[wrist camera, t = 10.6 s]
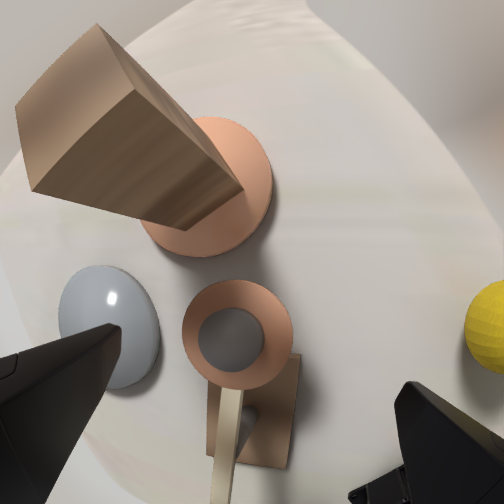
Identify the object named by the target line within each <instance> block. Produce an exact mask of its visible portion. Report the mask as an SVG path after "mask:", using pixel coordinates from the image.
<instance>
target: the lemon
mask: <svg viewBox="0 0 504 504" xmlns="http://www.w3.org/2000/svg"><path fill="white" fill-rule="evenodd" d="M464 331H465V339H466V343H467V346H468V348H469V350H470V352H471V354H472V356H473V357H474V358H475V359H476V360H477V361H478V362H479V363H480V364H481V365H482V366H483V367H485V368H487V369H489V370H491V371H493V372H495V373H499V374H504V280H502V281H498V282H495V283H492V284H490V285H489V286H487V287H485V288H484V289H482V290H481V291H480V292H479V294H478V295H477V296H476V297H475V298H474V300H473V301H472V303H471V304H470V306H469V309H468V312H467V314H466V319H465V324H464Z"/></svg>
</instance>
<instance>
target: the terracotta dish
mask: <svg viewBox="0 0 504 504" xmlns="http://www.w3.org/2000/svg"><path fill="white" fill-rule="evenodd" d="M193 120H194V121H195V123H196V124H197V125H198V126H199V127H200V128H201V129H202V130H203V131H204V132H205V133H206V134H207V135H208V136H209V138H210V139H211V141H212V142H213V144H214V145H215V147H216V148H217V149H218V151H219V152H220V154H221V155H222V157H223V158H224V160H225V161H226V163H227V164H228V166H229V167H230V169H231V170H232V172H233V173H234V175H235V176H236V178H237V179H238V181H239V182H240V184H241V185H242V187H243V188H244V190H243V191H242V192H240V193H239V194H238V195H236V196H235V197H233V198H232V199H230V200H229V201H228V202H226V203H225V204H223V205H222V206H220V207H219V208H218V209H216V210H215V211H213V212H212V213H211V214H209V215H208V216H206V217H205V218H204V219H202V220H201V221H199V222H198V223H197V224H195V225H194V226H193V227H191V228H190V229H188V230H187V231H182V230H179V229H175V228H171V227H167V226H163V225H159V224H156V223H152V222H148V221H144V220H140V221H141V223H142V225H143V227H144V228H145V230H146V232H147V233H148V234H149V235H150V237H151V238H152V239H153V240H154V241H155V242H156V243H158V244H159V245H160V246H162V247H163V248H165V249H166V250H168V251H171V252H173V253H176V254H179V255H183V256H192V257H210V256H216V255H219V254H222V253H225V252H227V251H230V250H232V249H234V248H235V247H237V246H239V245H240V244H242V243H243V242H244V241H245V240H246V239H248V238H249V237H250V236H251V235H252V234H253V233H254V231H255V230H256V229H257V228H258V226H259V225H260V223H261V222H262V220H263V218H264V216H265V215H266V212H267V210H268V207H269V205H270V201H271V197H272V189H273V176H272V171H271V166H270V163H269V160H268V158H267V156H266V154H265V151H264V150H263V148H262V146H261V144H260V143H259V142H258V140H257V139H256V137H255V136H254V135H253V134H252V133H251V132H250V131H248V130H247V129H246V128H245V127H243V126H242V125H240V124H238V123H236V122H234V121H231V120H229V119H225V118H220V117H200V118H195V119H193Z"/></svg>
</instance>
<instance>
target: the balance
mask: <svg viewBox="0 0 504 504" xmlns="http://www.w3.org/2000/svg"><path fill="white" fill-rule="evenodd" d="M182 339H183V344H184V348H185V351H186V354H187V356H188V358H189V360H190V361H191V363H192V365H193V366H194V367H195V369H196V370H197V371H198V372H199V373H200V374H201V375H202V376H204V377H205V378H206V379H207V380H208V399H207V443H206V455H208V456H212V457H214V466H213V476H212V486H211V496H210V504H230V500H231V492H232V484H233V476H234V468H235V461H236V462H241V463H247V464H252V465H259V466H265V467H272V468H279V469H285V468H286V464H287V459H288V452H289V445H290V438H291V431H292V424H293V416H294V409H295V401H296V393H297V384H298V376H299V366H300V357H301V354H292V353H290V352H291V349H292V343H293V329H292V323H291V320H290V317H289V314H288V312H287V310H286V309H285V307H284V305H283V304H282V303H281V301H280V300H279V299H278V298H277V297H276V296H275V295H274V294H273V293H272V292H271V291H269V290H268V289H266V288H265V287H263V286H261V285H259V284H256V283H253V282H250V281H245V280H229V281H222V282H218V283H215V284H213V285H210V286H209V287H207V288H205V289H204V290H202V291H201V292H200V293H199V294H198V295H197V296H196V297H195V298H194V299H193V300H192V302H191V303H190V305H189V306H188V308H187V310H186V313H185V316H184V319H183V325H182Z"/></svg>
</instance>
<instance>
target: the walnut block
mask: <svg viewBox="0 0 504 504" xmlns="http://www.w3.org/2000/svg"><path fill="white" fill-rule="evenodd" d="M15 111H16V118H17V124H18V131H19V136H20V142H21V147H22V152H23V157H24V162H25V167H26V171H27V175H28V179H29V184H30V188H31V191H32V192H36V193H40V194H44V195H48V196H52V197H55V198H59V199H63V200H67V201H71V202H75V203H79V204H83V205H86V206H90V207H94V208H98V209H102V210H106V211H110V212H113V213H117V214H121V215H125V216H129V217H133V218H136V219H140V220H144V221H148V222H152V223H156V224H159V225H163V226H167V227H171V228H175V229H179V230H182V231H187V230H188V229H190V228H191V227H193V226H194V225H195V224H197V223H198V222H199V221H201V220H202V219H204V218H205V217H206V216H208V215H209V214H211V213H212V212H213V211H215V210H216V209H218V208H219V207H220V206H222V205H223V204H225V203H226V202H228V201H229V200H230V199H232V198H233V197H235V196H236V195H238V194H239V193H240V192H242V191H243V190H244V188H243V187H242V185H241V184H240V182H239V181H238V179H237V178H236V176H235V175H234V173H233V172H232V170H231V169H230V167H229V166H228V164H227V163H226V161H225V160H224V158H223V157H222V155H221V154H220V152H219V151H218V149H217V148H216V147H215V145H214V144H213V142H212V141H211V139H210V138H209V136H208V135H207V134H206V133H205V132H204V131H203V130H202V129H201V128H200V127H199V126H198V125H197V124H196V123H195V121H194V120H193V119H192V118H191V117H190V116H189V115H188V114H187V113H186V112H185V111H184V110H183V109H182V108H181V107H180V106H179V105H178V104H177V102H176V101H175V100H174V99H173V98H172V97H171V96H170V95H169V94H168V93H167V92H166V91H165V90H164V89H163V88H162V87H161V86H160V85H159V84H158V83H157V82H156V81H155V80H154V79H153V78H152V77H151V76H150V75H149V74H148V73H147V72H146V71H145V70H144V69H143V68H142V67H141V66H140V65H139V64H138V63H137V62H136V61H135V60H134V59H133V58H132V57H131V56H130V55H129V54H128V53H127V52H126V51H125V50H124V49H123V48H122V47H121V46H120V45H119V44H118V43H117V42H116V41H115V40H114V39H113V38H112V37H111V36H110V35H109V34H108V33H107V32H105V30H103V29H102V28H101V27H100V26H99V25H98V24H95V25H94V26H93V27H92V28H91V29H89V30H88V31H87V32H86V33H85V34H84V35H83V36H82V37H80V38H79V39H78V40H77V41H76V42H75V43H74V44H73V45H72V46H71V47H69V48H68V49H67V50H66V51H65V52H64V53H63V54H62V55H61V56H60V57H59V58H58V59H57V60H56V61H55V62H54V63H53V64H52V65H51V66H50V67H49V68H48V69H47V70H46V72H45V73H44V74H43V75H42V76H41V77H40V78H39V79H38V80H37V81H36V82H35V84H34V85H33V86H32V87H31V88H30V89H29V91H27V93H26V94H25V95H24V96H23V97H22V99H21V100H20V101H19V102H18V103H17V105H16V106H15Z"/></svg>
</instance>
